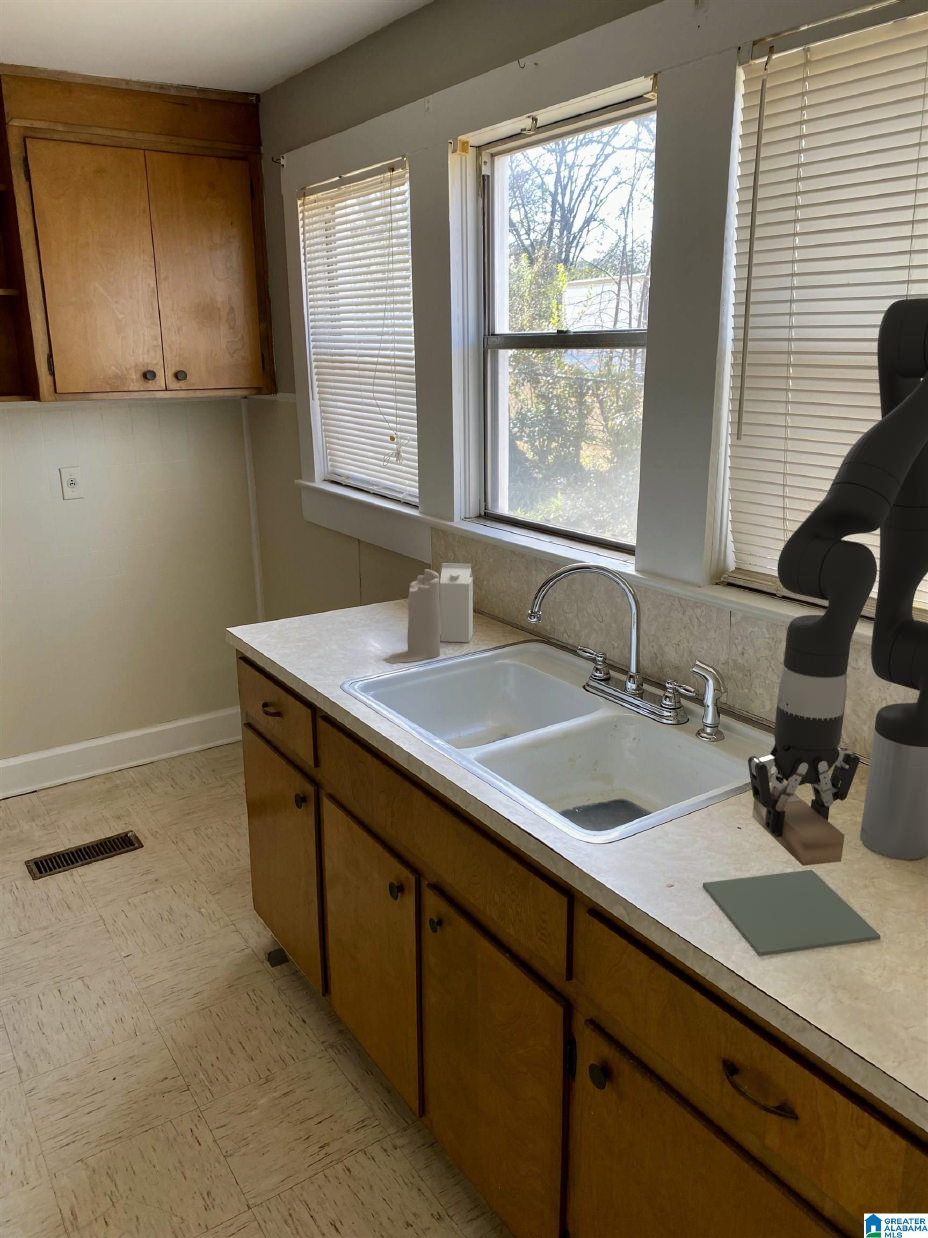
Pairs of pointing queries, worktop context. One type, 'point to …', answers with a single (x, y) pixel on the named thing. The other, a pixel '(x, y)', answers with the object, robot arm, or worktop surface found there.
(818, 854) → the stepped wooden block
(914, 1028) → the worktop surface
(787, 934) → the sage mat
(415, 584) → the candle
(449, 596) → the milk carton
